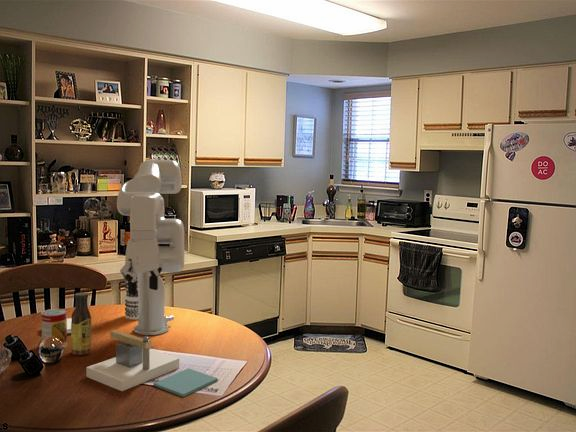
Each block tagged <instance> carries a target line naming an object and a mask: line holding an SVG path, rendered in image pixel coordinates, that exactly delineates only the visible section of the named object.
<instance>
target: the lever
mask: <svg viewBox="0 0 576 432" xmlns="http://www.w3.org/2000/svg"><path fill="white" fill-rule="evenodd" d="M110 338H111V339H113V340H116V341H119V342H125V343H128V344H131V345H134V346H137V347H140V348H143V349H148V348H150V349H151V348H152V341H151V340H150V335H143V337H140V336H136V335H134V334H130V333H126V332H123V331H121V330H119V329H118V330H117V329H115V330H111V331H110Z"/></svg>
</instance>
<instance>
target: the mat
mask: <svg viewBox="0 0 576 432" xmlns="http://www.w3.org/2000/svg"><path fill="white" fill-rule="evenodd" d="M218 381H219V378H218V377H215V376H212V375H210V374H209V375H208V374H206V373H203V372H200V371H198V370H194V369H192V368H189V367H188V368H186V369H183V370H181V371H179V372H177V373H174V374H172V375H169V376H168V377H165V378H162V379H160V380H158V381H155V382H153V386H154V387H156V388H159V389H162V390H164V391H167V392H169V393H171V394H174V395H178V396H180V397H182V398H184V397H187V396H189V395H191V394H194V393H195V392H197V391H199V390H201V389H203V388H205V387H207V386H210V385H211V384H214V383H216V382H218Z"/></svg>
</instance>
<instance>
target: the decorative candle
mask: <svg viewBox="0 0 576 432" xmlns="http://www.w3.org/2000/svg"><path fill="white" fill-rule="evenodd" d="M128 274H129V272H128ZM132 277H133V275H132ZM123 279H124V289H125V290H126V291H125V293H126V294H125V299H124V303H125V304H124V305H125V307H124V311H125V312H124V314H125V316H124V317H125V318H126V319H127V318H129V319H128V320H138V276H137V278H136V280H135V282H137V295H131V294H129V293H128V281H126V279H125V278H124V277H123Z"/></svg>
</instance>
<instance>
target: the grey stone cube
mask: <svg viewBox="0 0 576 432" xmlns="http://www.w3.org/2000/svg"><path fill="white" fill-rule="evenodd" d="M115 357H116V363H118V364H120V365H123V366H126V367H128V368H130V367H133V366H135V365H138V364H141V363H142V348H140V347H137V346H134V345H131V344H128V343H125V342H122V341H119V342H117V343H115Z"/></svg>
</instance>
